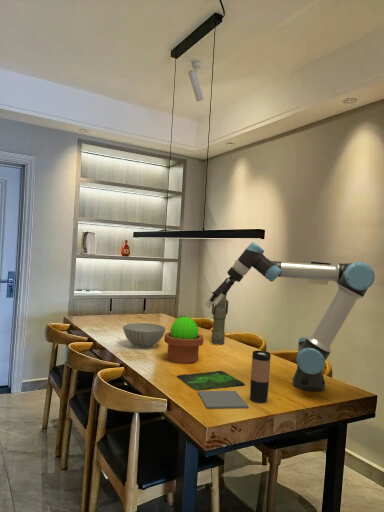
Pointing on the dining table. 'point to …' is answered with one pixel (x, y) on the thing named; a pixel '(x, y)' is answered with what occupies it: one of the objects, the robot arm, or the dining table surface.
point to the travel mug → (260, 376)
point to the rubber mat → (222, 399)
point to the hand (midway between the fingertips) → (210, 304)
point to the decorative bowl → (143, 334)
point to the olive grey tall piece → (219, 321)
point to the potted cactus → (183, 341)
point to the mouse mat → (209, 380)
